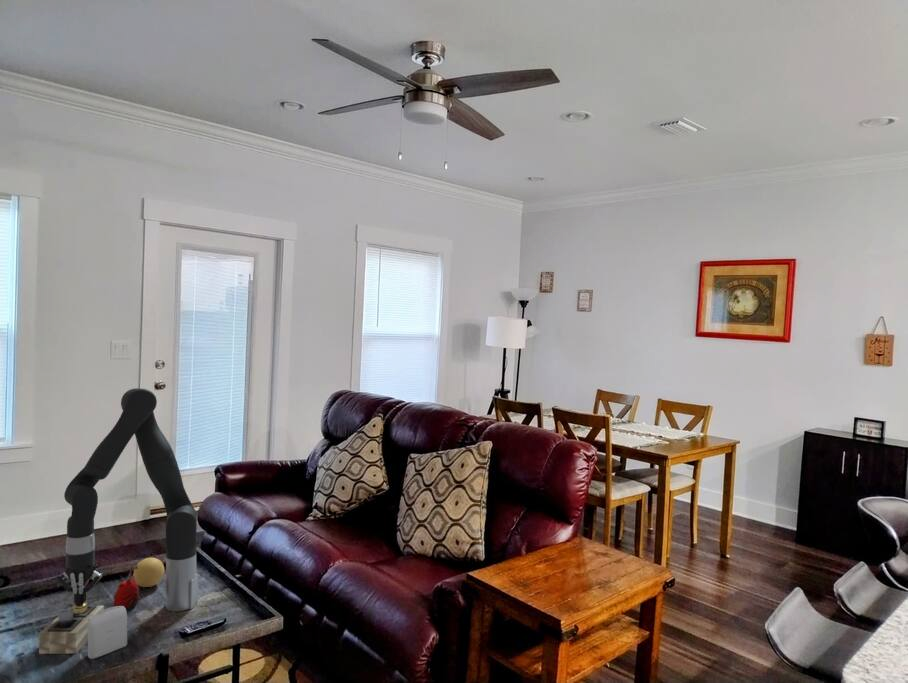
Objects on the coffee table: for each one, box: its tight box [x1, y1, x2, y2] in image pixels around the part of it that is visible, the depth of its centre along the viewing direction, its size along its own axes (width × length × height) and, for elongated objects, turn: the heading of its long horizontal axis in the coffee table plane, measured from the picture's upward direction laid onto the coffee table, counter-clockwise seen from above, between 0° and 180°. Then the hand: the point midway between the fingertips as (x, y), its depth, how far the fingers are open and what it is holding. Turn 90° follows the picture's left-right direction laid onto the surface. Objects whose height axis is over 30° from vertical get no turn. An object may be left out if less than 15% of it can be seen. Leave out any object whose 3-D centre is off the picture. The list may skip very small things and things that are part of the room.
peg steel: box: [57, 603, 74, 628], centre depth 176 cm, size 4×4×6 cm
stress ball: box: [132, 557, 165, 588], centre depth 214 cm, size 10×10×10 cm
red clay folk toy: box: [113, 563, 140, 611], centre depth 199 cm, size 8×7×15 cm
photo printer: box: [87, 606, 128, 660], centre depth 174 cm, size 10×4×12 cm, turn 140°
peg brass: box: [72, 601, 88, 614], centre depth 184 cm, size 4×4×6 cm
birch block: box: [38, 604, 105, 655], centre depth 180 cm, size 10×16×7 cm, turn 5°
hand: (80, 604), depth 184 cm, fingers closed
